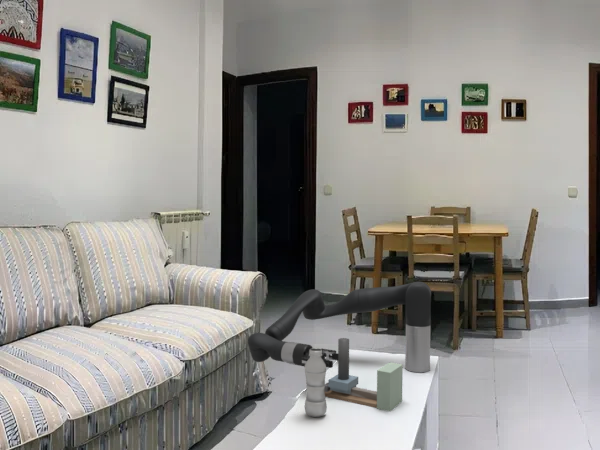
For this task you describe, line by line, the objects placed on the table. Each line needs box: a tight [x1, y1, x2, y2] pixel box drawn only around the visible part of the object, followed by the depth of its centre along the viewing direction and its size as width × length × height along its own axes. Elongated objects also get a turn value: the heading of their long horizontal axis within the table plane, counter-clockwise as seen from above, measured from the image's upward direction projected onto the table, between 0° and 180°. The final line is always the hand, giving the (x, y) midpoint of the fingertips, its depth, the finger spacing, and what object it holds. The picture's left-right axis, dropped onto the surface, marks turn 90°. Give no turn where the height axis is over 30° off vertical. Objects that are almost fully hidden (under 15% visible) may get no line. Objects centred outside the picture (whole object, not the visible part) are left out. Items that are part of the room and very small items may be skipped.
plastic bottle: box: [303, 347, 328, 418], centre depth 167 cm, size 6×7×20 cm
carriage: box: [327, 337, 359, 394], centre depth 185 cm, size 8×7×17 cm
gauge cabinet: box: [376, 361, 404, 412], centre depth 176 cm, size 10×5×12 cm, turn 148°
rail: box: [324, 382, 377, 409], centre depth 183 cm, size 9×20×3 cm, turn 58°
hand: (338, 361), depth 186 cm, fingers open, 8 cm apart
